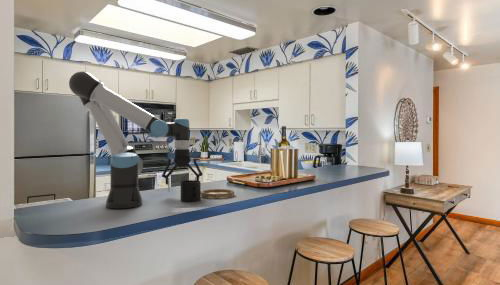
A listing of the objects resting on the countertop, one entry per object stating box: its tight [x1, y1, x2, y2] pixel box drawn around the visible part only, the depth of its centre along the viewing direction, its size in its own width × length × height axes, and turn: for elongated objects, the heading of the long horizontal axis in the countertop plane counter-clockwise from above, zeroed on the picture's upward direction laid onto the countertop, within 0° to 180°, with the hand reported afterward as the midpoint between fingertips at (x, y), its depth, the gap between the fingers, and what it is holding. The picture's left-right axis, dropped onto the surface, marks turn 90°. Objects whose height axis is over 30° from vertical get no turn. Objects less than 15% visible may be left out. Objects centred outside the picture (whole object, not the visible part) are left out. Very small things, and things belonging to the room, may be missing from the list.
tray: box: [201, 188, 235, 200], centre depth 161 cm, size 17×17×2 cm
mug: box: [180, 179, 202, 203], centre depth 146 cm, size 9×12×9 cm
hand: (182, 190), depth 158 cm, fingers open, 13 cm apart
